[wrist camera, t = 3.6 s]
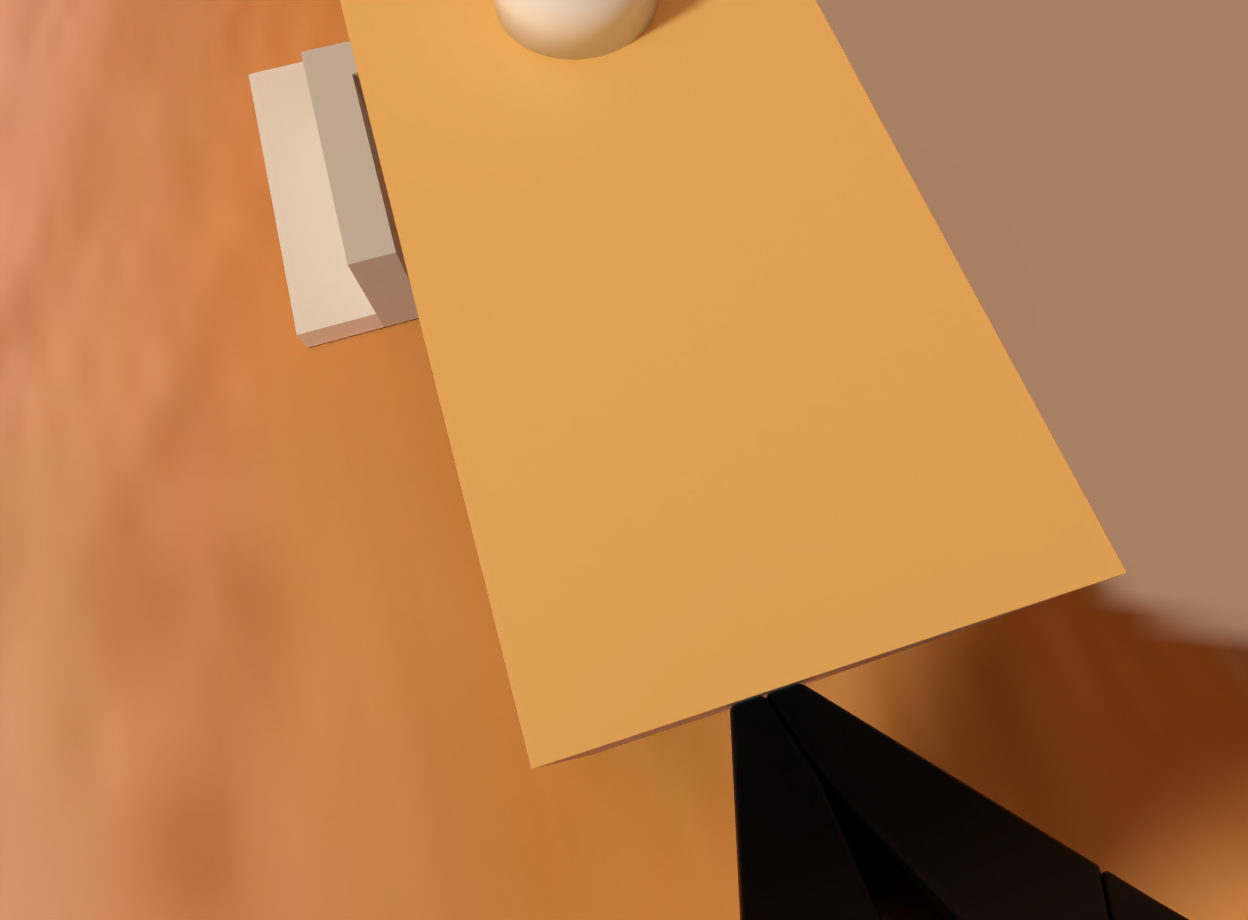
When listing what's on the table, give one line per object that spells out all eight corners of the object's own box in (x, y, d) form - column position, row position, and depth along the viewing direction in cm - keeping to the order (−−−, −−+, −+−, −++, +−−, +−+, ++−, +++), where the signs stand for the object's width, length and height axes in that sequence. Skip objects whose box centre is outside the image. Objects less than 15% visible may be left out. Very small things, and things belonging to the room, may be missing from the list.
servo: (832, 674, 15) (1195, 548, 6) (590, 755, 15) (518, 771, 5) (672, 264, 19) (721, -266, 9) (470, 318, 18) (285, -180, 8)
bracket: (814, 212, 19) (840, 137, 17) (307, 347, 18) (258, 287, 16) (707, -12, 22) (716, -104, 19) (258, 92, 21) (211, 8, 18)
